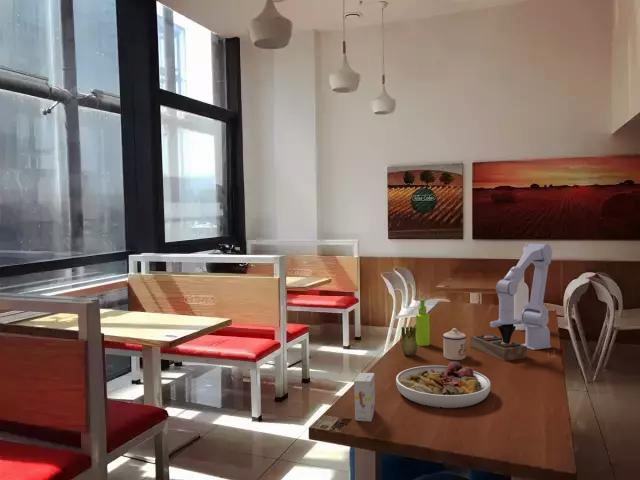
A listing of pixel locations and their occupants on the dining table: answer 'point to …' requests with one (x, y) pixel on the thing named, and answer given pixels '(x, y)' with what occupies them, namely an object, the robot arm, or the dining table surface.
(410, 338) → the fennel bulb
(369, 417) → the ink box
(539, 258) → the robot arm
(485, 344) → the walnut block
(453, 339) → the teacup with lid
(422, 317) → the soap dispenser
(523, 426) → the dining table surface
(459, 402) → the bowl
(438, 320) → the dining table surface
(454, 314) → the dining table surface
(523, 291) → the bottle
